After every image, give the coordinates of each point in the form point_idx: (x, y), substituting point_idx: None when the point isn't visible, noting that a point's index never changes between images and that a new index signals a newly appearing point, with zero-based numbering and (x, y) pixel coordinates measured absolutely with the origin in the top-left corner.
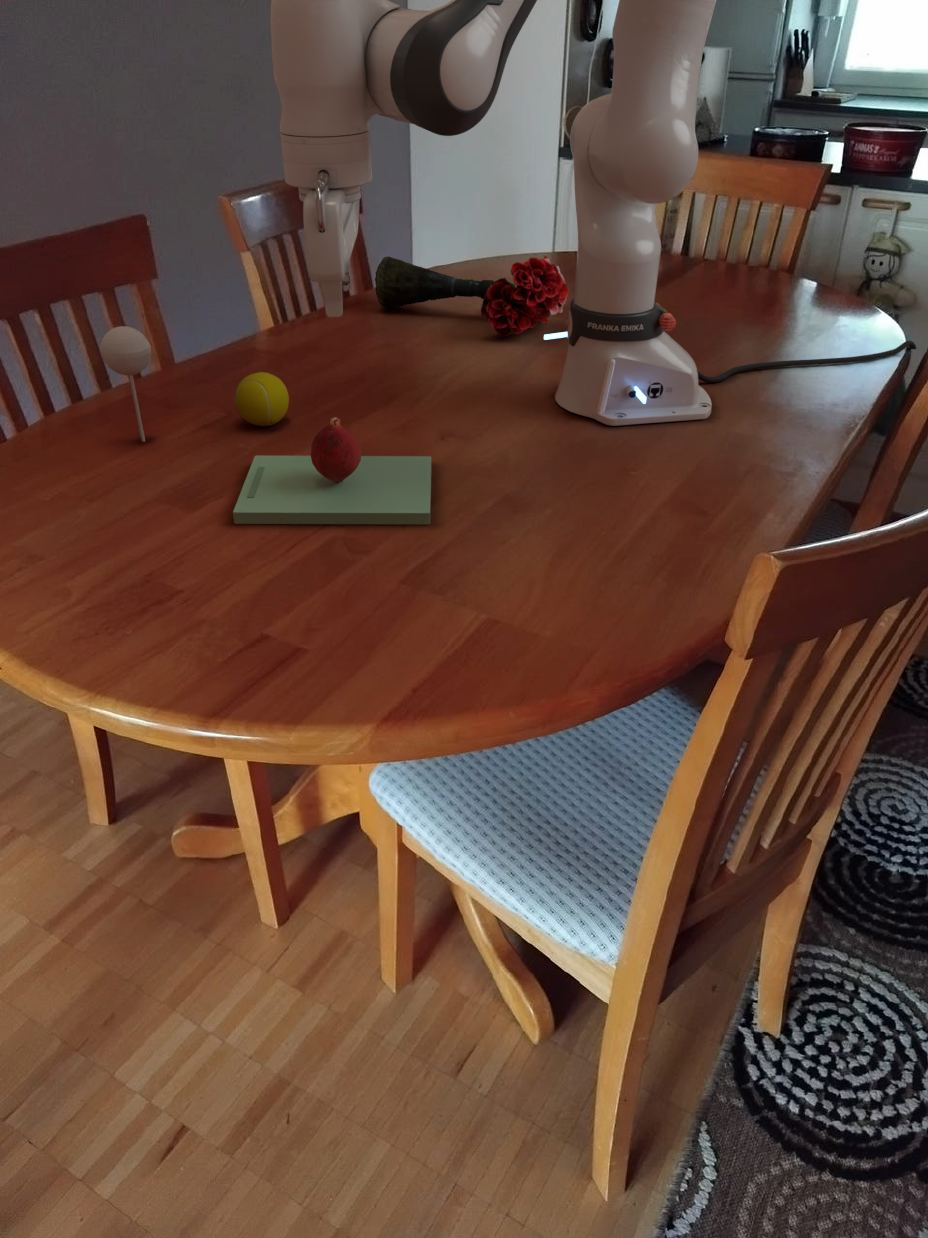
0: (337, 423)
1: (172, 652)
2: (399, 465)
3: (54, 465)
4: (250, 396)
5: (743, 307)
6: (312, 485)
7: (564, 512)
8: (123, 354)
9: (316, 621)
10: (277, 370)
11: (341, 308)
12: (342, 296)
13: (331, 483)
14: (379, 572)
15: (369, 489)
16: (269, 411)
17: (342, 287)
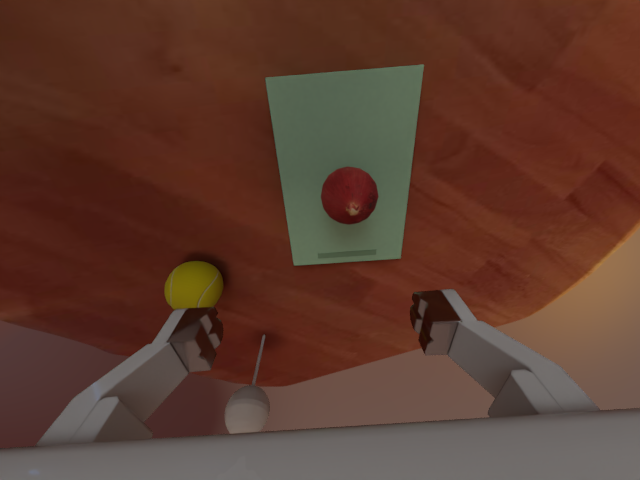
0: (355, 205)
1: (562, 248)
2: (298, 120)
3: (309, 363)
4: (215, 298)
5: None
6: None
7: None
8: (267, 411)
9: (565, 162)
10: (73, 287)
11: (460, 301)
12: (442, 322)
13: None
14: (505, 116)
15: (361, 149)
16: (217, 275)
17: (214, 323)
